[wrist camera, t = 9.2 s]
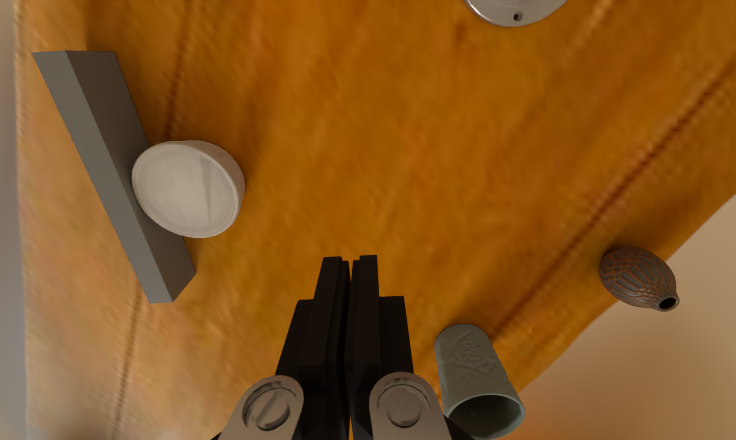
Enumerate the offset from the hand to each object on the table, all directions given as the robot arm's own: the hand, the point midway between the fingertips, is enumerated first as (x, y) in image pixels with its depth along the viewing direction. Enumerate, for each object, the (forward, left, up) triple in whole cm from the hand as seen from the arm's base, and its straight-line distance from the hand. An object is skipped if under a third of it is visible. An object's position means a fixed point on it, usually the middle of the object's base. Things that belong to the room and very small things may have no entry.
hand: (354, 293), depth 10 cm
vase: (+20, +33, -29) cm, 48 cm away
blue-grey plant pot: (+35, +13, -29) cm, 47 cm away
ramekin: (+5, -20, -29) cm, 36 cm away
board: (+5, -27, -29) cm, 40 cm away
